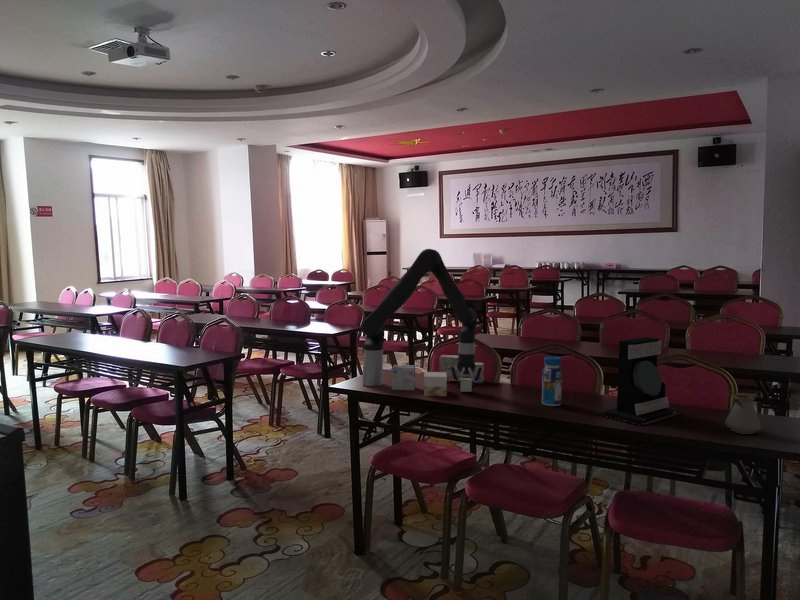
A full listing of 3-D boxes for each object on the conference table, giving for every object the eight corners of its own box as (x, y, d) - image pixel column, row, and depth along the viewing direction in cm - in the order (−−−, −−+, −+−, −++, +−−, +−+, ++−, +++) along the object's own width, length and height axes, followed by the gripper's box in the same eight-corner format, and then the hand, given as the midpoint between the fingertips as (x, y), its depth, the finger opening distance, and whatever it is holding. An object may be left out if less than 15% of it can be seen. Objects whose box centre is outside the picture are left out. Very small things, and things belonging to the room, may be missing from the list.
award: (641, 427, 223) (644, 347, 220) (598, 415, 238) (600, 340, 236) (685, 414, 241) (688, 340, 238) (642, 404, 256) (645, 334, 253)
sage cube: (460, 391, 273) (460, 380, 272) (460, 388, 278) (460, 378, 277) (471, 391, 272) (471, 380, 272) (470, 389, 277) (471, 378, 277)
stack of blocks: (483, 381, 299) (484, 356, 298) (481, 383, 293) (482, 358, 292) (441, 378, 305) (441, 354, 304) (438, 380, 299) (439, 356, 298)
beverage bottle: (538, 401, 259) (539, 355, 257) (557, 401, 260) (559, 355, 258) (544, 406, 251) (545, 359, 249) (564, 406, 251) (565, 359, 250)
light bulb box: (415, 387, 284) (415, 364, 283) (414, 390, 278) (414, 367, 277) (393, 386, 286) (393, 364, 285) (391, 390, 279) (391, 367, 278)
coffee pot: (728, 425, 226) (730, 385, 225) (763, 431, 218) (766, 390, 217) (714, 438, 210) (716, 396, 208) (752, 445, 202) (754, 402, 201)
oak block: (424, 396, 268) (424, 386, 268) (424, 391, 278) (424, 381, 278) (446, 396, 268) (446, 386, 267) (446, 391, 278) (446, 381, 277)
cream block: (424, 386, 268) (424, 376, 267) (424, 381, 278) (424, 371, 277) (446, 386, 267) (446, 376, 267) (445, 381, 277) (446, 372, 277)
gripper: (451, 353, 270) (450, 390, 272) (483, 354, 269) (482, 391, 271) (450, 350, 278) (449, 386, 279) (481, 351, 277) (481, 387, 278)
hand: (465, 388), depth 275 cm, fingers closed on sage cube, 5 cm apart
